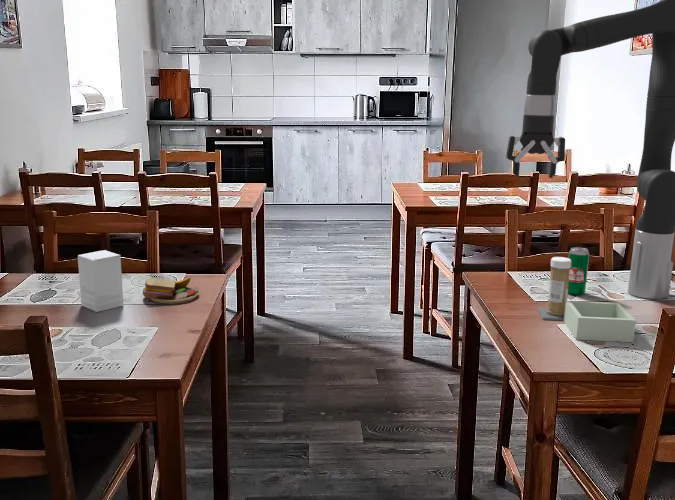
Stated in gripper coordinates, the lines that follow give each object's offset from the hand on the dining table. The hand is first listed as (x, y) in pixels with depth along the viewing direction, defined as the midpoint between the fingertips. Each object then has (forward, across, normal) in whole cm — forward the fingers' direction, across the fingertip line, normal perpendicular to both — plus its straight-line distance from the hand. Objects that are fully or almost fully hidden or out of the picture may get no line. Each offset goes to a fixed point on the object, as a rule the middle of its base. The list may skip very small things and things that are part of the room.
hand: (533, 177), depth 180 cm
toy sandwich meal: (+31, +90, +21) cm, 97 cm away
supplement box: (+30, +104, +30) cm, 112 cm away
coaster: (+30, -4, +21) cm, 37 cm away
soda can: (+30, -13, +2) cm, 33 cm away
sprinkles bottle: (+30, -4, +21) cm, 37 cm away
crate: (+30, -11, +31) cm, 45 cm away
